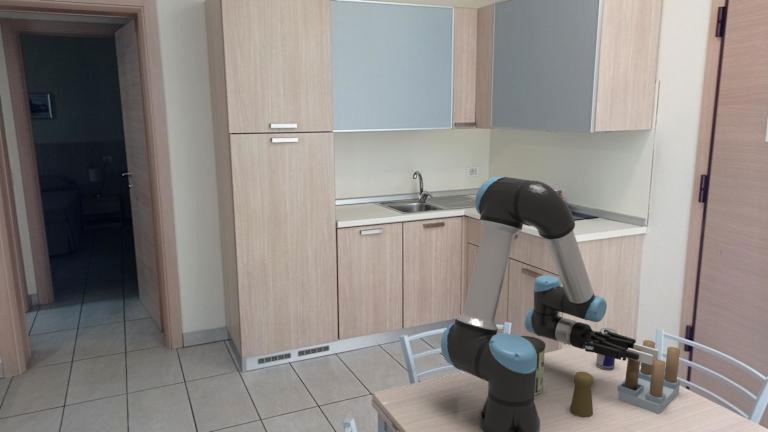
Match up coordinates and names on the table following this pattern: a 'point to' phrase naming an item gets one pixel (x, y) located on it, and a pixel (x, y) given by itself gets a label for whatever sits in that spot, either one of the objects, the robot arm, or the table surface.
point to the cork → (582, 395)
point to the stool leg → (632, 373)
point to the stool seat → (654, 382)
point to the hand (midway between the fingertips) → (654, 357)
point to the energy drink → (602, 360)
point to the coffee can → (538, 362)
